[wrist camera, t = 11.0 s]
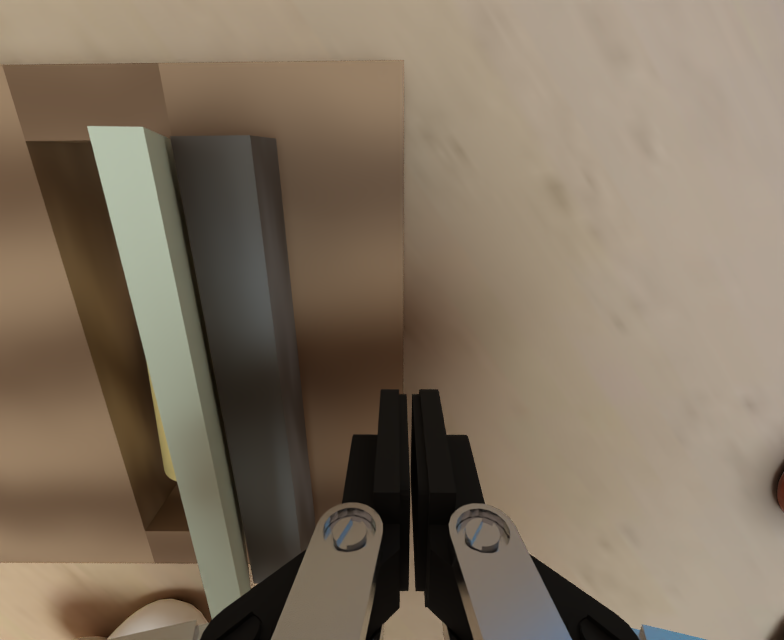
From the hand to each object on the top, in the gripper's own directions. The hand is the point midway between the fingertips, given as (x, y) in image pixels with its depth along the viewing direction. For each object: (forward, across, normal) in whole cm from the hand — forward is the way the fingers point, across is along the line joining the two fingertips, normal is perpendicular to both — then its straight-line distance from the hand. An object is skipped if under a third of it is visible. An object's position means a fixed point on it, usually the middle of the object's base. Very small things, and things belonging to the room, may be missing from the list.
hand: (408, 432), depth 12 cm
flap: (0, +6, 0) cm, 6 cm away
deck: (+7, +10, 0) cm, 12 cm away
